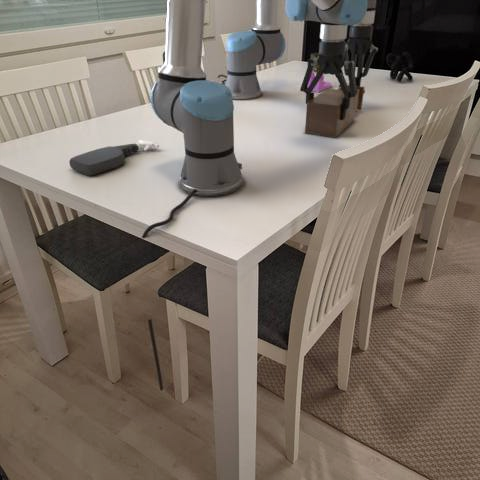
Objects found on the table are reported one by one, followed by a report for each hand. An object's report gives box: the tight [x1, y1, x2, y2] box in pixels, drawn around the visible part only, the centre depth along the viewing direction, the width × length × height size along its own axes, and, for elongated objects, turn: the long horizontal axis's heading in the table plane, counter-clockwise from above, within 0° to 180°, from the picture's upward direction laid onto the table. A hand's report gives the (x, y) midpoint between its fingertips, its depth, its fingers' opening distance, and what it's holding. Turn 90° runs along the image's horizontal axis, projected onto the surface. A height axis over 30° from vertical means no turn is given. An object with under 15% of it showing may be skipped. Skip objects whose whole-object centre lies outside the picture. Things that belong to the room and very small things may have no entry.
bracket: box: [307, 71, 332, 93], centre depth 188 cm, size 13×6×7 cm, turn 143°
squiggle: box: [385, 51, 414, 83], centre depth 198 cm, size 11×10×15 cm
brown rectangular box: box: [304, 88, 357, 138], centre depth 144 cm, size 19×10×10 cm, turn 151°
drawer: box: [336, 84, 366, 112], centre depth 155 cm, size 24×9×8 cm, turn 151°
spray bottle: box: [68, 139, 160, 177], centre depth 124 cm, size 3×11×24 cm
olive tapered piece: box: [310, 52, 320, 72], centre depth 217 cm, size 8×7×8 cm
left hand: (326, 116), depth 140 cm, fingers closed on brown rectangular box, 10 cm apart
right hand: (353, 96), depth 162 cm, fingers closed
